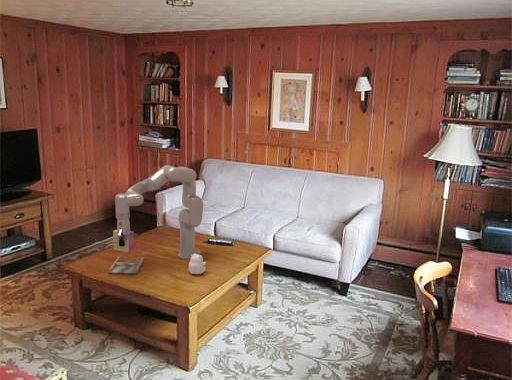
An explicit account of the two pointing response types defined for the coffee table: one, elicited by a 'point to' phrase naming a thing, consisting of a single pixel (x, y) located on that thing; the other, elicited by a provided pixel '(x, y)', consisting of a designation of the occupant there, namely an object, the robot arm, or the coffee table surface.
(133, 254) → the coffee table surface
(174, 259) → the coffee table surface
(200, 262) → the figurine
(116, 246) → the box
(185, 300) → the coffee table surface
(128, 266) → the rack
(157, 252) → the coffee table surface
